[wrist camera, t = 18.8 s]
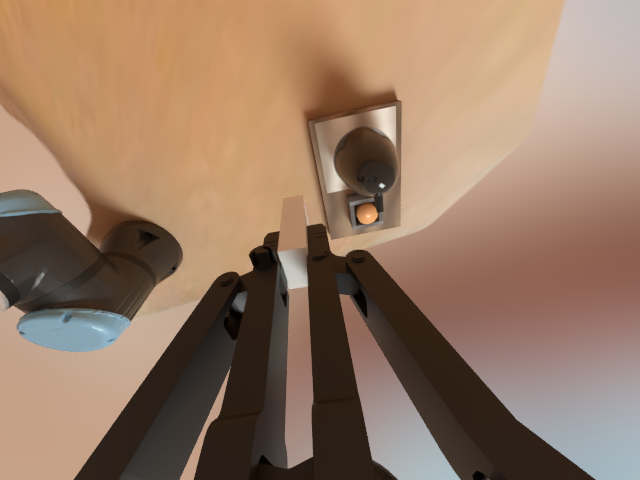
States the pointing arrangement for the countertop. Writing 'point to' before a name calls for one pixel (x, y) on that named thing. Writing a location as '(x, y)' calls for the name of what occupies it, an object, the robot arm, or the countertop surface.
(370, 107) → the drawing board
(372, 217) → the button
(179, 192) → the countertop surface
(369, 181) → the pump dispenser
